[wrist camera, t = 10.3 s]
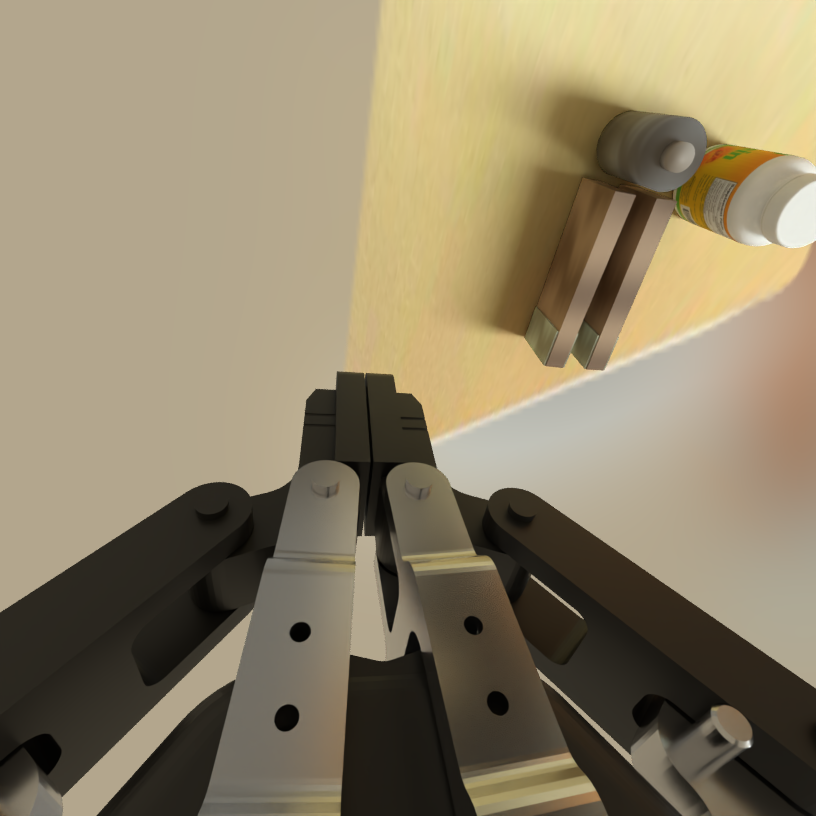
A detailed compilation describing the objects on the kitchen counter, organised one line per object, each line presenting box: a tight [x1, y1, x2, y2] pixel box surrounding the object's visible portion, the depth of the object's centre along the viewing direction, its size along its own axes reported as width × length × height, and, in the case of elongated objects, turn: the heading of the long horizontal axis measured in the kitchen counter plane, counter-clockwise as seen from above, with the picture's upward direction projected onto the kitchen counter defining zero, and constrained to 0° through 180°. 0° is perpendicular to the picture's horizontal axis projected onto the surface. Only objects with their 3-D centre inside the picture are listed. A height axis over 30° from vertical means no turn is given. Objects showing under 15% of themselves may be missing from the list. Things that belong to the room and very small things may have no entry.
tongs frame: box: [571, 111, 707, 370], centre depth 34 cm, size 18×4×7 cm, turn 172°
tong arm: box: [525, 178, 636, 368], centre depth 35 cm, size 13×2×5 cm, turn 170°
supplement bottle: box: [673, 144, 816, 248], centre depth 31 cm, size 5×5×10 cm
